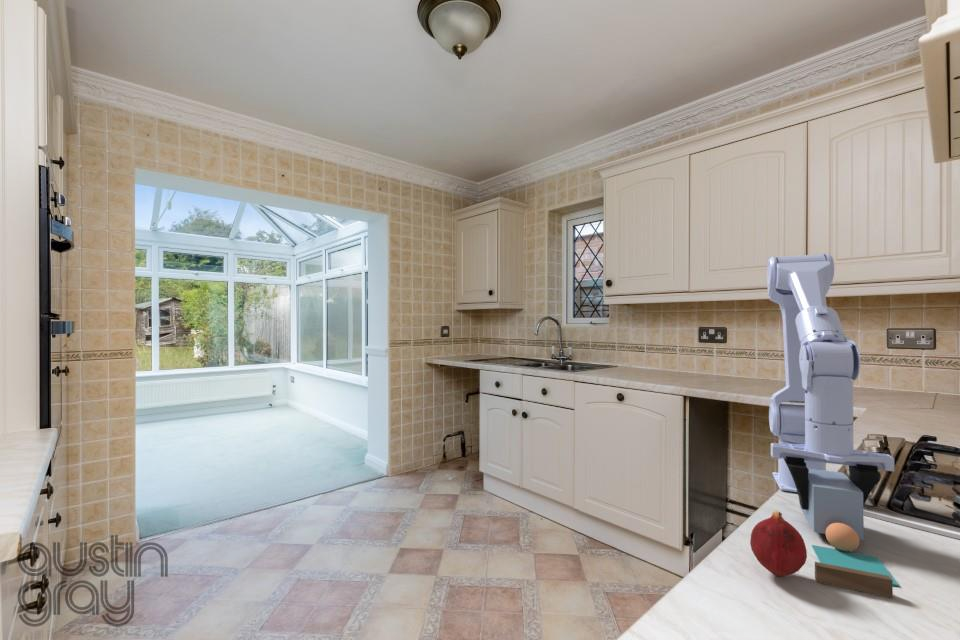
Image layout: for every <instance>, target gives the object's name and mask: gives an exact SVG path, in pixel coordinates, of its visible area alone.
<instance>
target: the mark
mask: <svg viewBox="0 0 960 640" xmlns="http://www.w3.org/2000/svg"><path fill="white" fill-rule="evenodd" d="M811 547H812V549H813V551H814V553H815V554H816V557H817V558H818V561H819V562H820V563H825V564H830V565H835V566H840V567H846V568H851V569H856V570H861V571H867V572H872V573H877V574H882V575H887V576H890V578H891V579H892V580H893V587H897V588H900V584H899V583H898V582H897V581H896V580H895V578H894V576H892V574H891V573H890V571H889V570H888V569H887V568H886V567H885V565H884V564H883V562H881V560H880V559H879V557H878V556H877V555H876V556H875V555H871V554H864V553H861V552H860V553H859V552H854V551H850V552H845V551H841V550H838V549H836V548H834V547H833V548H832V547H827V546H821V545H816V544H815V545H814V544H811Z"/></svg>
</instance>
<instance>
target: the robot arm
mask: <svg viewBox="0 0 960 640" xmlns="http://www.w3.org/2000/svg"><path fill="white" fill-rule="evenodd" d="M766 265H767V266H766V282H767V283H766V285H767V287H766V288H767V295H768V299H769V301H771V302H773V303H775V304H777V305H778V306H779V310H780V312H781V317H782V332H783V333H782V335H783V338H782V339H783V355H784V373H785V386H784V387H783V388H781V389H779V390H777V391H776V392H774V393H773V394H772V395H771V397H770V398H769V409H768V422H769V428H770V433H771V434H772V435H773V436H776V437H777V438H778V443H777V442H771V443H770V456H771V458H772V459H777V462H778V463H777V468H778V470H777V471H778V472H776V471H773V472H772V474H771V475H772V476H773V478H774V479H775V482H776V484H777V485H778V488H779V489H780V490H781V488H782V487H783V486H784V485H785V484H786V483H787V485H786V486H784V487H783V488H782V490H781V491H785V492H790V493H791V492H792V493H797V496H798V500H799V507H800V506H801V508H802V509H804V510H808V492H807V485H808V473H809V469H816V470H824V471H827V464H833V465H843V466H847V467H848V473H849V474H848V475H849V479H850V480H851V481H852V482H853V483H854V484H855V485H856V486H857V487H858V488H859V489H860V490H861V491H862V492H863V508H864V507H865V504H866V502H867V499H868V497H869V496H870V494H871V492H872V490H873V489H874V488H875V486H876V485H877V484H878V483H879V482H880V481H881V474H882V473H881V472H880V471H879V470H878V469H880V470H883V471H886V472H895V458H894V457H893V456H891V455H890V454H888V453H879V452H873V451H872V452H871V451H866V450H859V449H854V381H856V380H857V379H858V377H859V374H860V370H861V368H860V367H861V360H860V359H861V358H860V352H859V348H858V345H857V343H856V342H855V341H854V340H852V339H851V337H850V336H849V337H846V335H845V332H844V329H843V325H842V323H841V320H840V317H839V314H838V312H837V311H836V310H835V309H833V308H832V307H830V306H828V305H827V299H826V295H828V293H829V291H830V288H831V287H830V286H831V284H832V283H833V281H834V277H835V261H834V258H833V256H832V255H830V253H828V252H825V253H822V254H821V253H820V254H806V255H804V254H802V255H787V256H785V255H784V256H776V255H775V256H773V255H772V256H770V258H769V259H768V261H767V264H766ZM788 403H790V404H788ZM803 404H804V405H803Z"/></svg>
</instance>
